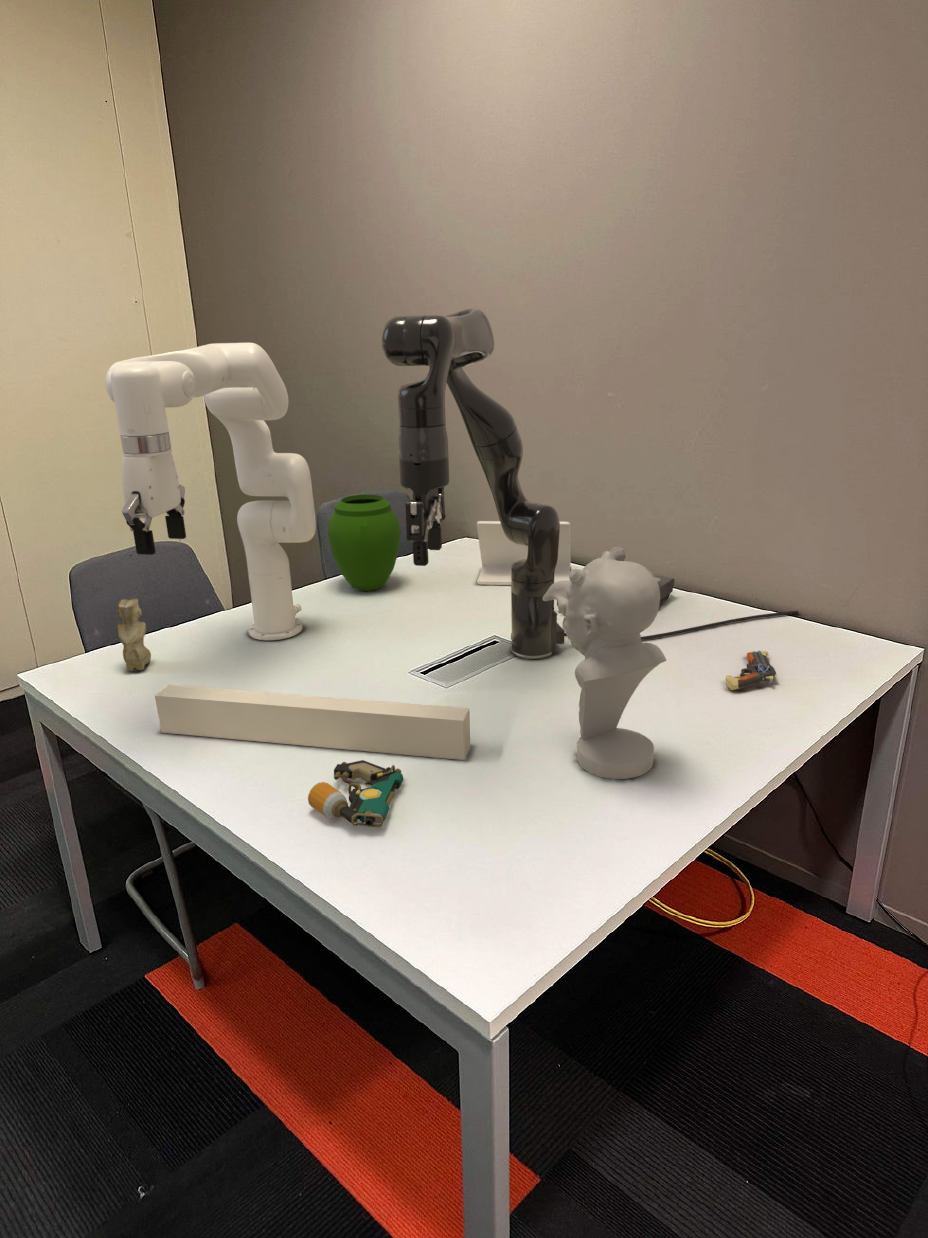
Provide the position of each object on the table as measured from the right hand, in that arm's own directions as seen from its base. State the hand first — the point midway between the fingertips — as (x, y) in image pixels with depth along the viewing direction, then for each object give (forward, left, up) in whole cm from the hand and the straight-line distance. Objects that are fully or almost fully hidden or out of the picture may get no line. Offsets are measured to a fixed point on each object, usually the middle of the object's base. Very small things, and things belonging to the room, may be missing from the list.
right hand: (428, 557), depth 135 cm
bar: (+21, -10, -35) cm, 42 cm away
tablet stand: (-41, -92, -35) cm, 106 cm away
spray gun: (+14, +12, -35) cm, 40 cm away
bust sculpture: (-26, +7, -35) cm, 44 cm away
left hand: (+43, -19, 0) cm, 47 cm away
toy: (-56, -62, -35) cm, 91 cm away
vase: (+3, -94, -35) cm, 100 cm away
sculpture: (+57, -53, -35) cm, 85 cm away
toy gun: (-67, -16, -35) cm, 77 cm away
